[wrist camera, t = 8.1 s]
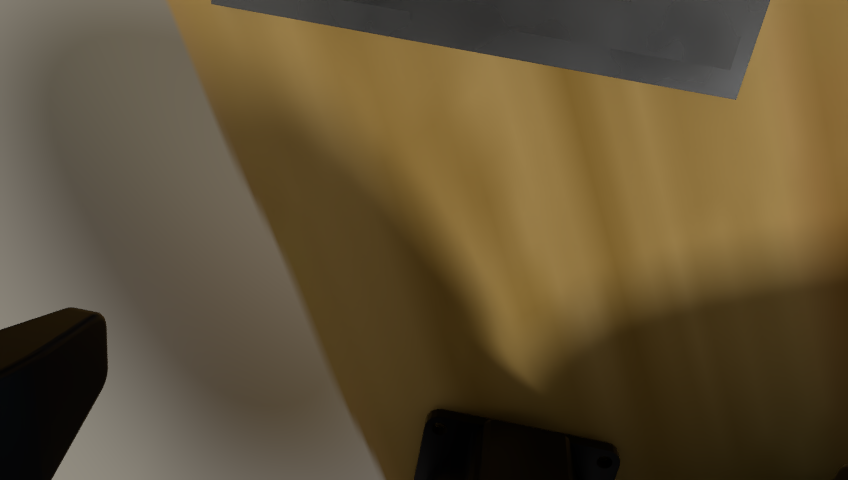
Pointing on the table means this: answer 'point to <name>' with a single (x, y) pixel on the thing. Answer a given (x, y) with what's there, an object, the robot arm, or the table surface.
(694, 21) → the jack stand base
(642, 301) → the table surface
